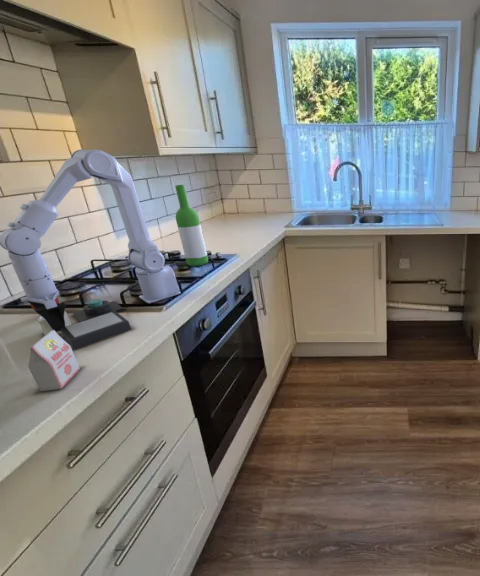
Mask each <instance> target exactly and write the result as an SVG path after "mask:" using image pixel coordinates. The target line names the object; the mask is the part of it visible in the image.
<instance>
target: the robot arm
mask: <svg viewBox="0 0 480 576" xmlns="http://www.w3.org/2000/svg"><path fill="white" fill-rule="evenodd" d="M92 178H97V179H98V180H100V181H102V182H104V183H105V184H107V185H110V186H111V190H112V192H113V195H114V199H115V201H116V205H117V209H118V211H119V215H120V217H121V220H122V223H123V226H124V229H125V232H126V235H127V238H128V242H127V248H128V255H127V259H128V262H129V263H130V264H131V265H132V266H134V267H135V274H136V277H137V280H138V284H139V287H140V290H141V293H142V294H141V295H139V296H138V298H139V299H140V300H142V301H144V302H145V303H147V304H153V303H156V302H159V301H163V300H166V299H168V298H172V297H174V296H177V295H181V291H180V289H179V285H178V281H177V277H176V274H175V272H174V269H173V268H172V267H171V266H170V265H165V262H166V259H165V257H164V255H163V253H161V252H160V250H159V248H158V246H157V244H156V243H155V241H153V240H152V238H151V236H150V232H149V229H148V225H147V223H146V219H145V216H144V213H143V209H142V207H141V204H140V203H141V202H140V200H139V197H138V193H137V190H136V187H135V184H134V180H133V178H132V176H131V174H130V173H129V172H128V171H127V170H126V169H125V168H124V167H123V166H122V165H121V164H120V163H119V162H118V161H117V159H116V157H115V156H113V155H111V154H109V153H107V152H106V151H104V150H101V149H76V150H75V151H73V152H72V154H71V155H70V157H68V158H67V159H65V160H64V162H63V164H62V165H61V167H59V170H58V171H57V172H56V174H55V176H54V177H53V179H52V180H51V182H50V183H49V184H48V186H47V187H46V189H45V190H44V192H43V193H42V195H41V196H40V198H39V199H35V200H28V202H27V204H26V203H22V204H21V205H20V207H19V209H21V211H20V213H19V214H18V215H17V216H16V218H15V219H14V221H13V222H8V224H7V227H9V228H8V229H5V230H3V231H2V232H1V233H0V246H1V248H3V249H4V250H6V251H7V254H8V258H9V259H10V261H11V262H10V263H11V266H12V268H13V270H14V272H15V274H16V276H17V279H18V280H19V282H20V285H21V288H22V289H23V291H24V293H25V296H22V297H20V301H21V302H22V303H26V302H27V303H28V304H29V305H30V306H31V305H33V306H34V307H35V308H36V309H33V310H34V311H35V313H36V314H38V315H39V316H42V317H43V318H44V319H45V320H46V321H47V322H48V324H49V325H50V327H51V328H52V329H53V330H55V332H57V331H60V330H61V329H60V328H63V327H65V320H64V311H66V308H67V307H66V305H67V304H66V302H64V301H63V302H59V304H56V302H55V301H56V297H57V298H58V296H59V294H60V291H59V290H58V289H57V286H56V285H55V282H54V280H53V277H52V275H51V273H50V270H49V267H48V265H47V263H46V261H45V258H44V256H43V254H42V253H41V250H40V248H41V245H42V242H41V238H43V237H44V235H45V234H46V232H47V231H48V230H49V228H50V227H51V225H53V223H54V221H56V219H57V218H58V216H59V213H58V211H57V207H58V206H59V204H60V203H61V202H62V201H63V200H64V198H65V197H66V196H67V195H68V194H69V193H70V191H71V190H72V189H73V188H74V186H76V184H77V183H80V182H82V181H83V182H84V181H86V180H90V179H92Z"/></svg>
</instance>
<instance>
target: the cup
mask: <svg viewBox="0 0 480 576" xmlns="http://www.w3.org/2000/svg"><path fill="white" fill-rule="evenodd" d="M36 320H37V322H38V324H39V326H40V328H41V331H42V333H43V335H44V336H45V335H46V334H48V333H49V332H50V331H53V329H52V328H51V327H50V325H49V324H48V322H47V321H46V320H45V319H44V318H43V317H42V316H41V315H39V317H38V318H37V319H36ZM64 320H65V327H66V326H69V325H72V322H71V320H70V318H69V316H68V313H67V311H66V310H64ZM56 333H57V334H58V335H59V336H60V335H63V334H62V332H61V330H60V331H57V332H56Z"/></svg>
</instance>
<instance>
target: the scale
mask: <svg viewBox="0 0 480 576" xmlns="http://www.w3.org/2000/svg"><path fill="white" fill-rule="evenodd" d="M60 329H61V332H62V334H61V335H62V336H63V338H64V340H65V341H66V342H67V343H68V344H69V345H70V346H71V348H73V350H77V349H81V348H84V347H86V346H89V345H92V344H94V343H97V342H100V341H103V340H106V339H109V338H111V337H115V336H117V335H120V334H122V333H124V332H128V331H131V330H132V327H131V324H130V321H129V320H127V318H125V317H124V316H123V315H121V314H120V313H119V312H116V311H113V312H110V313H107V314H104V315H101V316H98V317H94V318H91V319H88V320H85V321H82V322H80V321H79V322H76V323H71V325H69V326H66V327H63V328H60Z"/></svg>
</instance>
